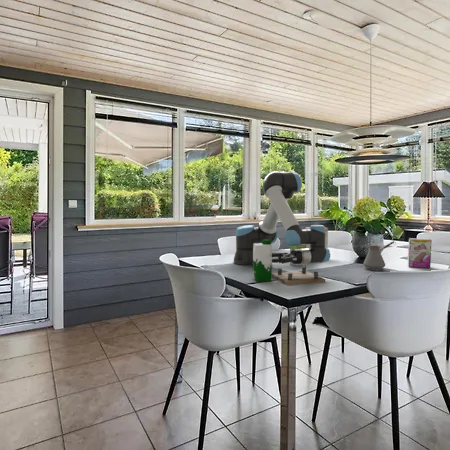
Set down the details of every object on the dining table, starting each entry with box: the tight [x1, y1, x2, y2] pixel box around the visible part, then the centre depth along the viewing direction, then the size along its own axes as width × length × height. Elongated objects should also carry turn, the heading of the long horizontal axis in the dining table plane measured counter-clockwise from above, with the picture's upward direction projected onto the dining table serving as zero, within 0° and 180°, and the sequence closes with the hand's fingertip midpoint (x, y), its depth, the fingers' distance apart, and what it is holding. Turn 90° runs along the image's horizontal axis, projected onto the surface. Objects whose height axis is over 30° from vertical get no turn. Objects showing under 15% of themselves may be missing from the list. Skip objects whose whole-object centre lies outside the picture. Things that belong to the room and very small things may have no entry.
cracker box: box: [304, 226, 329, 249], centre depth 238 cm, size 14×6×21 cm, turn 58°
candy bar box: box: [407, 237, 432, 269], centre depth 204 cm, size 11×5×16 cm, turn 71°
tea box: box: [289, 244, 307, 266], centre depth 221 cm, size 15×10×15 cm
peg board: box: [271, 266, 327, 286], centre depth 177 cm, size 20×20×4 cm
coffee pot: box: [362, 241, 397, 271], centre depth 202 cm, size 21×12×15 cm, turn 113°
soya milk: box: [252, 239, 273, 282], centre depth 176 cm, size 9×9×20 cm
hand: (260, 258), depth 175 cm, fingers open, 13 cm apart
